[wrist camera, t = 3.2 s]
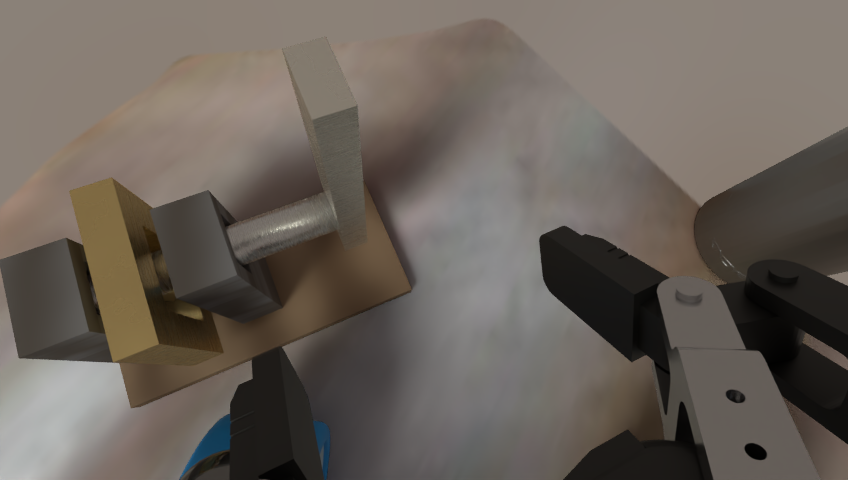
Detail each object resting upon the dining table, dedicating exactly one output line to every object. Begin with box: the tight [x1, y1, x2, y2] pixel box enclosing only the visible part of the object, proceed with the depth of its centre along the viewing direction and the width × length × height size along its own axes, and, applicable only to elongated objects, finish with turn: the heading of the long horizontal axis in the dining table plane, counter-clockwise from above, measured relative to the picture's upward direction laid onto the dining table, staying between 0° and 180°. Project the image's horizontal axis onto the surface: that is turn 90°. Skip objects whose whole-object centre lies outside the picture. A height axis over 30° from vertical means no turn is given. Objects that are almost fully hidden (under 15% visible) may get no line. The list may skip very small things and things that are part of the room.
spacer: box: [69, 178, 224, 366], centre depth 25 cm, size 2×9×9 cm, turn 24°
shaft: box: [87, 37, 368, 315], centre depth 21 cm, size 18×3×16 cm, turn 114°
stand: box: [0, 181, 412, 408], centre depth 28 cm, size 21×10×12 cm, turn 114°
